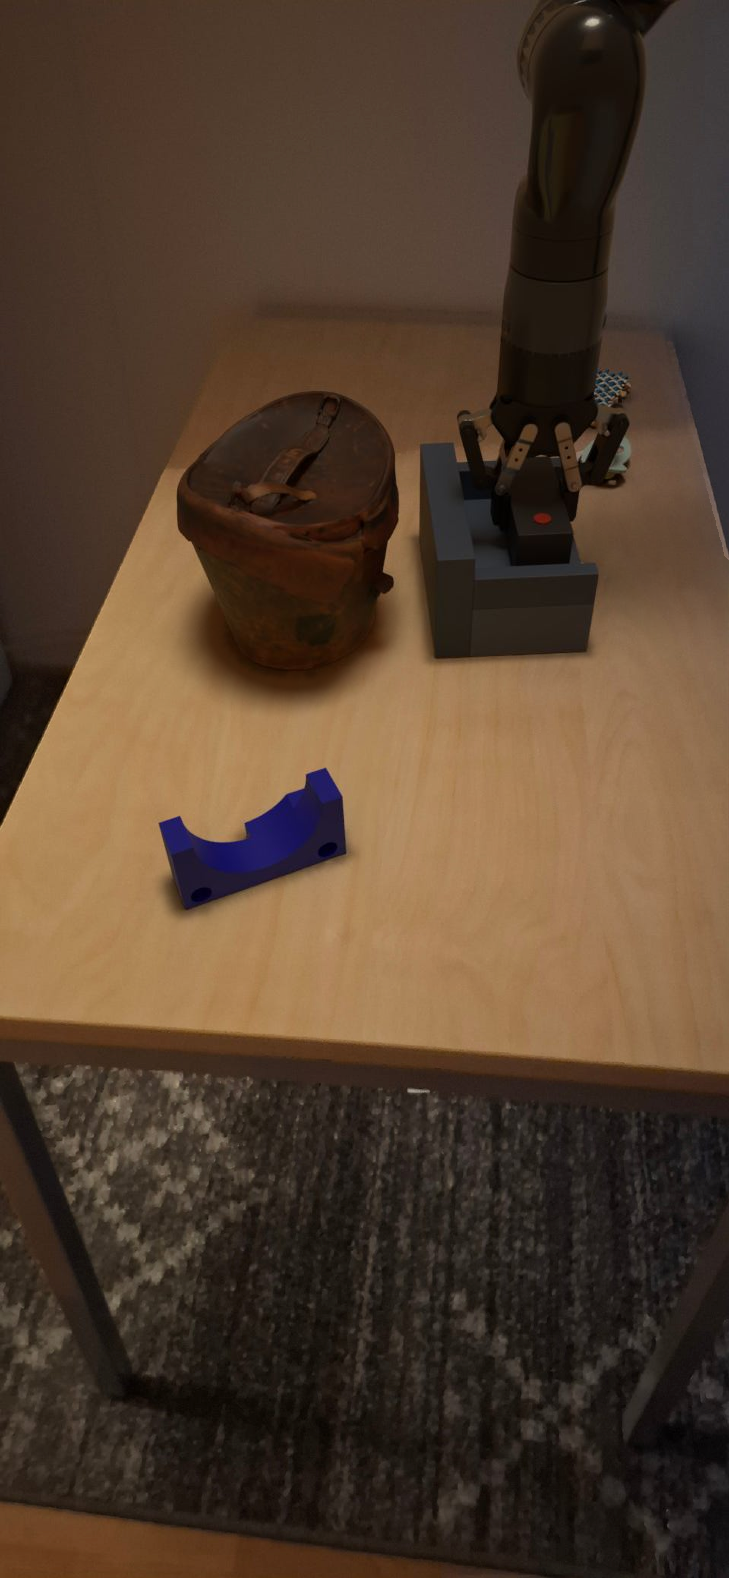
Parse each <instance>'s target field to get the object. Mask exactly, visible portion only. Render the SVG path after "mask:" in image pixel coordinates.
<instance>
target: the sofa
mask: <svg viewBox="0 0 729 1578" xmlns="http://www.w3.org/2000/svg"><path fill="white" fill-rule="evenodd" d="M550 458H551V461H552V464H553V467H554V471H555V474H556V477H557V480H558V484H559V481H560V479H563V472H562V467H561V463H560V459H559V457H550ZM496 460H497V459H495V460H483V461H484V465H485V466H489V467H492V468H493V467H494V465H495V463H496ZM491 493H492V491H491V490H490V489H487V488H484V489H476V488H475V487H474V484H473V480H472V477H471V473H470V469H469V466H468V462H467V461H458V460H457V453H456V449H455V444H454V442H433V443H431V442H430V443H429V442H428V443H420V445H419V511H418V514H419V515H418V516H419V519H418V521H419V522H418V523H419V524H418V525H419V527H418V530H419V531H418V534H419V535H418V541H419V547H420V549H419V550H420V555H421V564H422V571H423V579H424V587H425V593H426V602H427V610H428V617H429V624H430V633H431V641H432V649H433V655H434V659H447V658H469V657H470V658H471V657H472V658H473V657H474V658H475V657H491V656H492V657H493V656H494V657H495V656H496V657H497V656H513V655H514V656H515V655H535V654H536V655H537V654H539V655H540V654H557V653H558V654H559V653H579V652H587V650H588V644H589V639H590V632H591V627H592V620H593V615H594V608H595V601H596V596H597V589H598V583H599V579H600V578H599V577H600V572H599V569H598V565H597V563H596V562H582V559H581V555H580V553H579V550H578V547H577V543H576V540H575V536H573V542H572V549H571V556H570V563H569V564H552V565H530V566H514V565H513V560H512V556H511V552H510V547H509V543H508V539H507V534H506V531H502V532H500V531H499V527H498V525H494V524H493V521H492V518H491V513H490V507H491Z"/></svg>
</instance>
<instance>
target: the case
mask: <svg viewBox="0 0 729 1578" xmlns="http://www.w3.org/2000/svg"><path fill="white" fill-rule="evenodd" d="M399 515H400V493H399V488H398V484H397V474H396V450H395V447H394V443H393V441H392V439H391V436H390V435H389V433H388V431H387V429H386V428H385V426H384V425H383V424H382V422H381V421H380V420H379V419H378V418H377V416H376V415H375V414H374V413H373V412H371V410H369V409H368V408H366V407H365V406H364V405H362V404H361V403H360V402H358V401H356V400H354V399H352V398H350V397H348V396H346V395H343V394H340V393H337V392H333V391H327V390H309V391H308V390H307V391H301V392H294V393H290V394H288V395H284V396H281V397H279V398H277V399H274V400H272V401H270V402H268V403H265V404H264V405H262V407H260V408H257V409H256V410H254V411H253V412H250V413H249V414H247V415H245V416H244V417H243V418H241V419H239V420H238V421H236V422H235V423H234V424H233V425H232V426H230V427H229V428H228V429H226V430H225V431H224V432H223V433H222V434H221V435H220V436H219V438H217V440H215V441H214V442H212V443H211V444H210V445H208V447H206V448H205V450H204V451H203V452H201V453H200V454H199V455H198V458H196V460H194V461H193V463H192V464H190V465H189V466H188V467H187V468H186V470H185V471H184V472H183V473H182V475H181V477H180V480H179V481H178V484H177V488H176V522H177V523H176V525H177V529H178V531H179V533H180V534H181V536H182V537H184V539H186V541H188V542H190V543H191V544H192V546H193V549H194V551H195V554H196V556H197V558H198V560H199V563H200V564H201V567H202V569H203V571H204V573H205V576H206V578H207V580H208V583H209V584H210V587H211V590H212V592H213V594H214V596H215V598H216V601H217V603H218V605H219V608H220V609H221V612H222V614H223V616H224V619H225V621H226V624H227V625H228V628H229V630H230V633H231V636H232V639H233V640H234V642H235V644H236V646H237V647H238V649H239V651H241V653H242V654H243V655H244V656H245V657H247V658H248V659H250V660H251V661H252V662H254V663H256V664H258V665H260V666H264V667H266V668H270V669H275V670H307V669H314V668H319V667H323V666H325V665H329V664H330V663H333V662H335V661H337V660H339V659H341V658H343V657H345V656H347V655H348V654H350V653H351V652H352V651H354V650H355V649H356V648H357V647H358V646H360V644H362V643H363V641H364V640H365V639H366V637H367V636H368V635H369V633H370V631H371V629H372V627H373V623H374V620H375V619H374V618H375V615H376V610H377V604H378V599H379V598H380V596H381V594H382V595H386V594H388V593H389V592H390V591H391V590H392V589H393V588H394V586H395V579H394V577H393V576H392V575H391V574H388V573H386V572H384V568H385V567H384V566H385V562H386V554H387V549H388V543H389V540H390V539H391V538H392V536H393V534H394V532H395V530H396V528H397V526H398V523H399V521H400V520H399V519H400V518H399Z"/></svg>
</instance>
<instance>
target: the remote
mask: <svg viewBox="0 0 729 1578" xmlns="http://www.w3.org/2000/svg"><path fill="white" fill-rule="evenodd" d="M551 458H552V457H549V456H544V455H540V456H536V457H532V458H525V459H524V462H523V464H522V466H521V469H520V471H519V472H518V473H516V475H515V477H514V479H513V482H512V484H511V486H510V492H511V502H510V509H509V521H508V531H506V534H507V539H508V543H509V547H510V552H511V556H512V560H513V565H514V566H530V565H552V564H569V563H570V556H571V549H572V542H573V537H574V529H573V526H572V524H571V523H572V522H570V519H569V516H568V513H567V510H566V506H565V503H564V500H563V497H562V494H561V491H560V488H559V484H558V480H557V477H556V474H555V471H554V467H553V464H552V461H551Z"/></svg>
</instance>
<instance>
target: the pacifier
mask: <svg viewBox="0 0 729 1578" xmlns="http://www.w3.org/2000/svg"><path fill="white" fill-rule="evenodd" d="M594 440H595V438H594V439H592V441H590V442H589V443H588V445H586V447H585V448H584V449H580V450H579V451H577V452H576V457H577V462H578V464H580V463H583V462H585V460H586V458H587V456H588V454H589V452H590V449H591V447H592V445H593V443H594ZM619 449H621V450H622V451H621V452H617V453H616V455H615V457H614V459H613V461H612V463H611V465H610V468H609V470H608V472H607V474H606V476H605V478H604V480H609V479H612V478H614V477H615V476H616V474H625V473H626V472H627V471H628V468H627V467H626V466H625V464H627V462H628V461H629V459H630V458H631V455H632V445H631V442H630V441H629V439H628V438H627V437H626V435H625V436H624V438H623V440H622V442H621V444H620V446H619V448H618V450H619Z"/></svg>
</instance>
